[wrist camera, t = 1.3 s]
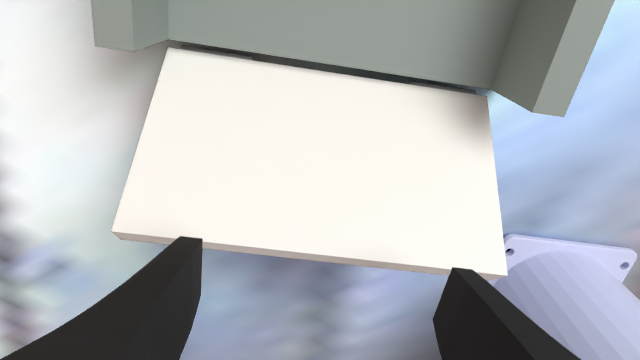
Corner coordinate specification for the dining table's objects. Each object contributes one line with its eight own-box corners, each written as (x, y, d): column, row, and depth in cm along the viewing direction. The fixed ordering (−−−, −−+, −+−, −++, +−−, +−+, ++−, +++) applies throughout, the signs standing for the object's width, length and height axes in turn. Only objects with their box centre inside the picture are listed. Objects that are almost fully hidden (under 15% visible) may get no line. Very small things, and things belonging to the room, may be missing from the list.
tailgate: (493, 280, 15) (507, 275, 15) (120, 239, 14) (110, 231, 13) (475, 100, 19) (485, 87, 18) (175, 54, 18) (170, 38, 17)
